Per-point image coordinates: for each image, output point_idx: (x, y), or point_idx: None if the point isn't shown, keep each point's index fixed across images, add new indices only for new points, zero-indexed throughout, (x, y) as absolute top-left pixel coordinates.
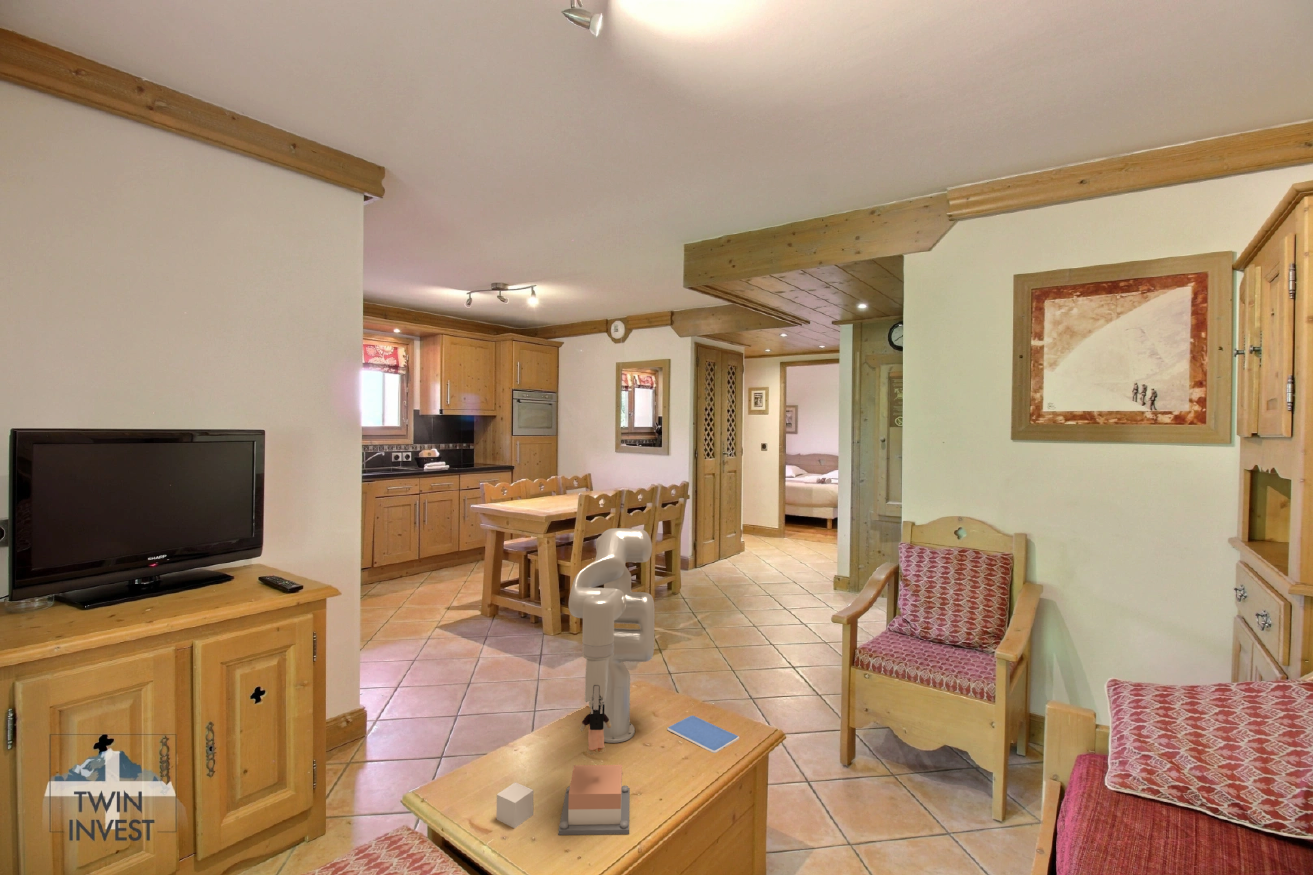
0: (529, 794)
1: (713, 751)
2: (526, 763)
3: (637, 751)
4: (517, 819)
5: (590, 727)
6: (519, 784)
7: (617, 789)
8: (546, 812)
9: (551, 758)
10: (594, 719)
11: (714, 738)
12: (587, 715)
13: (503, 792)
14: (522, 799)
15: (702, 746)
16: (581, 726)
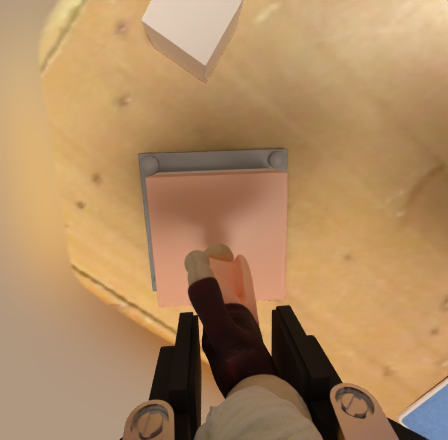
0: (191, 58)
1: (399, 418)
2: (414, 21)
3: (424, 284)
4: (159, 47)
5: (179, 320)
6: (231, 14)
7: (175, 298)
8: (213, 114)
9: (427, 88)
10: (152, 389)
11: (443, 421)
12: (223, 331)
13: None
14: (168, 41)
15: (420, 401)
16: (191, 268)
